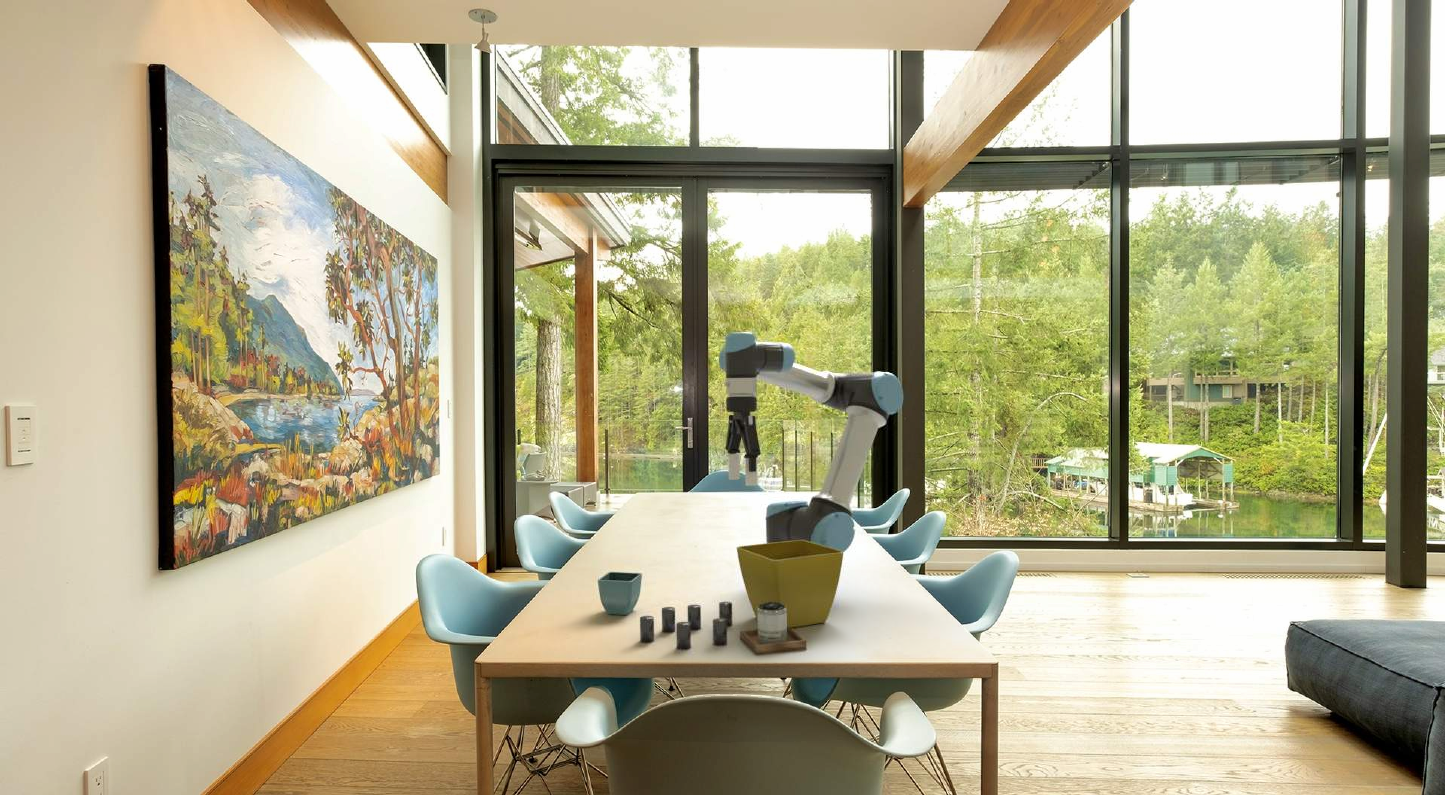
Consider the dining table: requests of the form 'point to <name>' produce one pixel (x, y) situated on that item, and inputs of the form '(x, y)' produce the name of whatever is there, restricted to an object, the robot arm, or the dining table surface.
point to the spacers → (688, 625)
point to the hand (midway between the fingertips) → (742, 482)
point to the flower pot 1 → (619, 591)
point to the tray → (758, 648)
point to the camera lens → (772, 623)
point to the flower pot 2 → (792, 578)
